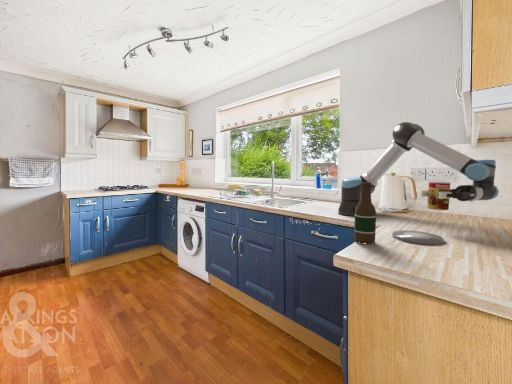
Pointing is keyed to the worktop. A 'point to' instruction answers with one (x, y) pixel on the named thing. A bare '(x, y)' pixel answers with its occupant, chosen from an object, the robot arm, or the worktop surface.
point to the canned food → (434, 195)
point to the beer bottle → (365, 217)
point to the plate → (418, 237)
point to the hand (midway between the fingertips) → (430, 194)
